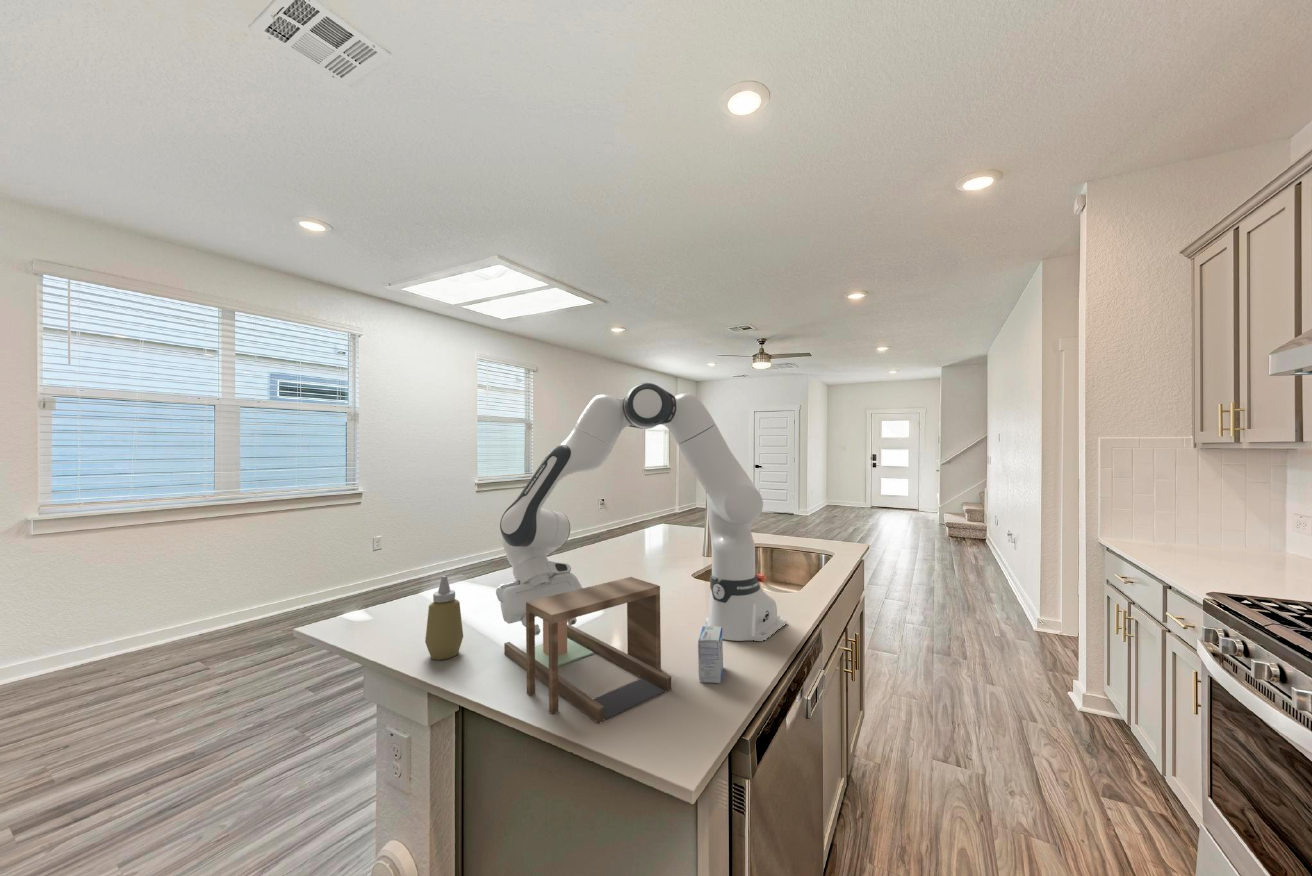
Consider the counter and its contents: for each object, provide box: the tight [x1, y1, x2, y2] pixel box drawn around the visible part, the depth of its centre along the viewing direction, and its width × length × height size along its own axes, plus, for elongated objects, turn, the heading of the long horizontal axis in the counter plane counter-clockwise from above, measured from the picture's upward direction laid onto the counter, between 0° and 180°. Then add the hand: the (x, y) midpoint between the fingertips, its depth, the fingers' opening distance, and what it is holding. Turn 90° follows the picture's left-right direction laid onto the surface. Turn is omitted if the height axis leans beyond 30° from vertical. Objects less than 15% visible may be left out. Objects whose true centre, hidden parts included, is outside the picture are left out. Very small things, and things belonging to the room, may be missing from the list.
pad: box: [522, 637, 594, 668], centre depth 112 cm, size 13×12×1 cm
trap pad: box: [593, 677, 666, 721], centre depth 92 cm, size 14×7×1 cm, turn 131°
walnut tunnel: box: [503, 576, 672, 724], centre depth 103 cm, size 26×38×18 cm
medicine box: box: [697, 625, 724, 684], centre depth 101 cm, size 8×4×9 cm, turn 168°
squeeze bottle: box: [424, 575, 464, 661], centre depth 112 cm, size 8×8×18 cm
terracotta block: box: [542, 619, 568, 656], centre depth 112 cm, size 4×4×8 cm
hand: (555, 628), depth 111 cm, fingers open, 8 cm apart
